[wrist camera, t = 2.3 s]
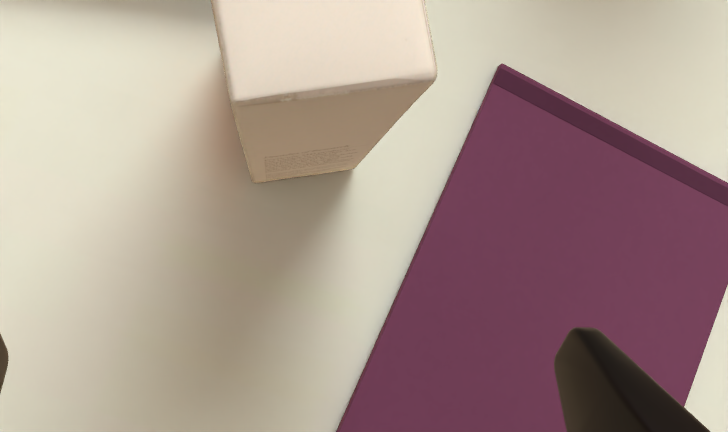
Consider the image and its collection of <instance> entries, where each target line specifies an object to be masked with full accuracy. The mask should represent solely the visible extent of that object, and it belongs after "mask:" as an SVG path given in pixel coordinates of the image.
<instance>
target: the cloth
mask: <svg viewBox="0 0 728 432" xmlns="http://www.w3.org/2000/svg"><path fill="white" fill-rule="evenodd" d="M727 285H728V183H727V182H725V181H723V180H721V179H719V178H717V177H715V176H714V175H712V174H710V173H708V172H706V171H704V170H702V169H700V168H699V167H697V166H695V165H693V164H691V163H689V162H687V161H685V160H683V159H682V158H680V157H678V156H676V155H674V154H672V153H670V152H668V151H666V150H665V149H663V148H661V147H659V146H657V145H655V144H653V143H651V142H650V141H648V140H646V139H644V138H642V137H640V136H638V135H636V134H634V133H633V132H631V131H629V130H627V129H625V128H623V127H621V126H619V125H617V124H616V123H614V122H612V121H610V120H608V119H606V118H604V117H602V116H601V115H599V114H597V113H595V112H593V111H591V110H589V109H587V108H585V107H584V106H582V105H580V104H578V103H576V102H574V101H572V100H570V99H568V98H567V97H565V96H563V95H561V94H559V93H557V92H555V91H553V90H552V89H550V88H548V87H546V86H544V85H542V84H540V83H538V82H536V81H535V80H533V79H531V78H529V77H527V76H525V75H523V74H521V73H519V72H518V71H516V70H514V69H512V68H510V67H508V66H506V65H504V64H501V65H499V66H498V68H497V70H496V73H495V75H494V77H493V79H492V82H491V84H490V86H489V88H488V91H487V93H486V95H485V97H484V100H483V102H482V104H481V106H480V109H479V111H478V113H477V115H476V118H475V120H474V122H473V124H472V127H471V129H470V131H469V133H468V136H467V138H466V140H465V143H464V145H463V147H462V149H461V152H460V154H459V156H458V158H457V161H456V163H455V165H454V167H453V170H452V172H451V174H450V176H449V179H448V181H447V183H446V185H445V188H444V190H443V192H442V194H441V197H440V199H439V201H438V203H437V206H436V208H435V210H434V212H433V215H432V217H431V219H430V221H429V224H428V226H427V228H426V230H425V233H424V235H423V237H422V239H421V242H420V244H419V246H418V248H417V251H416V253H415V255H414V257H413V260H412V262H411V264H410V266H409V269H408V271H407V273H406V275H405V278H404V280H403V282H402V285H401V287H400V289H399V291H398V294H397V296H396V298H395V300H394V303H393V305H392V307H391V309H390V312H389V314H388V316H387V318H386V321H385V323H384V325H383V327H382V330H381V332H380V334H379V336H378V339H377V341H376V343H375V345H374V348H373V350H372V352H371V354H370V357H369V359H368V361H367V363H366V366H365V368H364V370H363V372H362V375H361V377H360V379H359V381H358V384H357V386H356V388H355V390H354V393H353V395H352V397H351V399H350V402H349V404H348V406H347V408H346V411H345V413H344V415H343V417H342V420H341V422H340V424H339V426H338V429H337V431H336V432H567V430H566V425H565V420H564V415H563V411H562V406H561V401H560V396H559V391H558V386H557V381H556V376H555V371H554V359H555V355H556V353H557V352H558V350H559V348H560V346H561V345H562V343H563V341H564V339H565V338H566V336H567V334H568V332H569V331H570V330H571V329H573V328H574V327H592V328H596V329H598V330H600V331H601V332H602V333H604V334H605V335H606V336H607V337H608V338H609V339H610V340H611V341H612V342H613V343H614V344H616V345H617V346H618V347H619V348H620V349H621V350H622V351H623V352H624V353H625V354H626V355H627V356H629V357H630V358H631V359H632V360H633V361H634V362H635V363H636V364H637V365H638V366H639V367H641V368H642V369H643V370H644V371H645V372H646V373H647V374H648V375H649V376H650V377H651V378H653V379H654V380H655V381H656V382H657V383H658V384H659V385H660V386H661V387H662V388H663V389H665V390H666V391H667V392H668V393H669V394H670V395H671V396H672V397H673V398H674V399H675V400H677V401H678V402H679V403H680V404H681V405H682V406H683V407H684V406H685V403H686V400H687V397H688V394H689V391H690V389H691V386H692V383H693V380H694V377H695V375H696V372H697V369H698V366H699V363H700V361H701V358H702V355H703V352H704V349H705V347H706V344H707V341H708V338H709V335H710V332H711V330H712V327H713V324H714V321H715V318H716V316H717V313H718V310H719V307H720V304H721V302H722V299H723V296H724V293H725V290H726V287H727Z"/></svg>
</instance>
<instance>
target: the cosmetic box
mask: <svg viewBox="0 0 728 432" xmlns="http://www.w3.org/2000/svg"><path fill="white" fill-rule="evenodd" d="M211 4H212V10H213V15H214V21H215V26H216V31H217V36H218V41H219V46H220V52H221V57H222V62H223V67H224V72H225V78H226V83H227V88H228V94H229V99H230V103H231V107H232V111H233V115H234V118H235V122H236V126H237V129H238V133H239V137H240V140H241V144H242V148H243V151H244V155H245V158H246V162H247V165H248V169H249V172H250V176H251V179H252V182H253V183H262V182H267V181H273V180H280V179H287V178H295V177H302V176H309V175H316V174H323V173H330V172H337V171H343V170H350V169H354V168H355V167H356V166H357V165H358V164H359V163H360V162H361V161H362V159H364V157H365V156H366V155H367V154H368V153H369V152H370V151H371V150H372V148H373V147H374V146H375V145H376V144H377V143H378V142H379V141H380V139H381V138H382V137H383V136H384V135H385V134H386V133H387V132H388V131H389V129H390V128H391V127H392V126H393V125H394V124H395V123H396V122H397V120H398V119H399V118H400V117H401V116H402V115H403V114H404V113H405V112H406V111H407V110H408V109H409V108H410V107H411V105H412V104H413V103H414V102H415V101H416V100H417V99H418V98H419V97H420V96H421V95H422V94H423V93H424V92H425V91H426V90H427V89H428V88H429V87H430V86H431V85H432V84H433V82H434V81H435V79H436V77H437V65H436V59H435V54H434V49H433V43H432V38H431V32H430V27H429V22H428V16H427V10H426V4H425V0H211Z"/></svg>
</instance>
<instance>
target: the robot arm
mask: <svg viewBox="0 0 728 432" xmlns="http://www.w3.org/2000/svg"><path fill="white" fill-rule="evenodd" d="M7 366H8V351H7V348H6V346H5V343H4V341H3V339H2V336H1V334H0V393H1V389H2V385H3V382H4V378H5V374H6V370H7ZM554 371H555V376H556V381H557V386H558V391H559V396H560V401H561V406H562V411H563V415H564V420H565V425H566V430H567V432H710V431H709V430H708V429H707V428H706V427H705V426H704V425H703V424H702V423H700V422H699V421H698V420H697V419H696V418H695V417H694V416H693V415H692V414H691V413H690V412H688V411H687V410H686V409H685V408H684V407H683V406H682V405H681V404H680V403H679V402H678V401H677V400H675V399H674V398H673V397H672V396H671V395H670V394H669V393H668V392H667V391H666V390H665V389H663V388H662V387H661V386H660V385H659V384H658V383H657V382H656V381H655V380H654V379H653V378H651V377H650V376H649V375H648V374H647V373H646V372H645V371H644V370H643V369H642V368H641V367H639V366H638V365H637V364H636V363H635V362H634V361H633V360H632V359H631V358H630V357H629V356H627V355H626V354H625V353H624V352H623V351H622V350H621V349H620V348H619V347H618V346H617V345H616V344H614V343H613V342H612V341H611V340H610V339H609V338H608V337H607V336H606V335H605V334H604V333H602V332H601V331H600V330H598V329H596V328H592V327H574V328H573V329H571V330H570V331H569V332H568V334H567V336H566V338H565V339H564V341H563V343H562V345H561V346H560V348H559V350H558V352H557V353H556V355H555V359H554Z"/></svg>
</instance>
